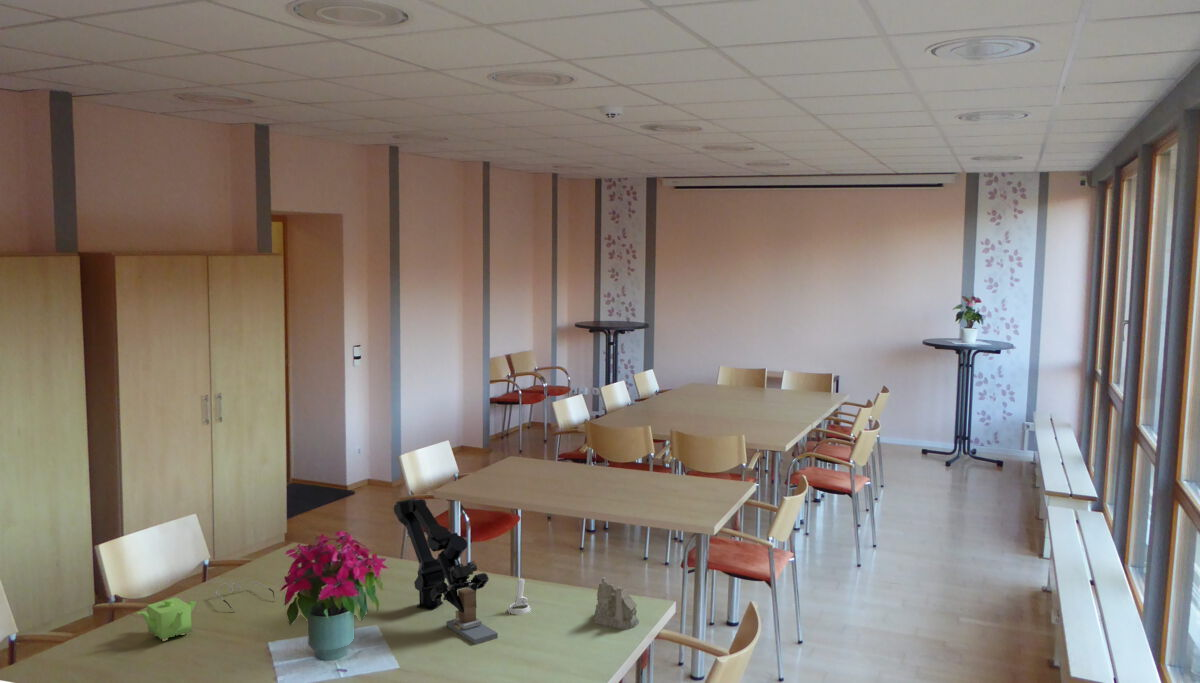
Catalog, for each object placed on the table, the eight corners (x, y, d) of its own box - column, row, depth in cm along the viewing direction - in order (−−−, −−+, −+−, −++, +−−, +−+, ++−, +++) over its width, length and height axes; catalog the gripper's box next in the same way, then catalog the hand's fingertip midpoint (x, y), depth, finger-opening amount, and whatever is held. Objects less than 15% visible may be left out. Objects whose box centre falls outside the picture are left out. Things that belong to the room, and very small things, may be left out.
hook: (530, 585, 313) (535, 580, 307) (527, 621, 307) (532, 616, 301) (509, 582, 311) (513, 577, 305) (505, 618, 305) (509, 613, 299)
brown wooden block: (453, 622, 290) (452, 589, 289) (470, 617, 294) (469, 585, 293) (464, 629, 285) (463, 596, 284) (481, 624, 288) (480, 591, 287)
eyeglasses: (257, 588, 328) (256, 574, 328) (278, 602, 314) (277, 588, 314) (211, 599, 318) (210, 585, 317) (231, 615, 304) (230, 600, 303)
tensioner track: (446, 625, 292) (445, 613, 292) (468, 619, 297) (467, 607, 297) (474, 644, 278) (474, 631, 277) (497, 637, 283) (497, 625, 282)
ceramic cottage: (626, 632, 286) (626, 584, 286) (584, 622, 296) (584, 575, 295) (653, 619, 299) (653, 573, 298) (612, 610, 308) (612, 565, 308)
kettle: (184, 644, 280) (182, 608, 279) (136, 646, 279) (134, 610, 278) (202, 624, 295) (200, 590, 294) (156, 626, 294) (154, 592, 293)
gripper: (433, 560, 285) (451, 605, 277) (485, 548, 296) (504, 591, 288) (422, 578, 291) (439, 622, 284) (473, 565, 303) (491, 607, 295)
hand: (469, 610), depth 288 cm, fingers closed on brown wooden block, 4 cm apart
